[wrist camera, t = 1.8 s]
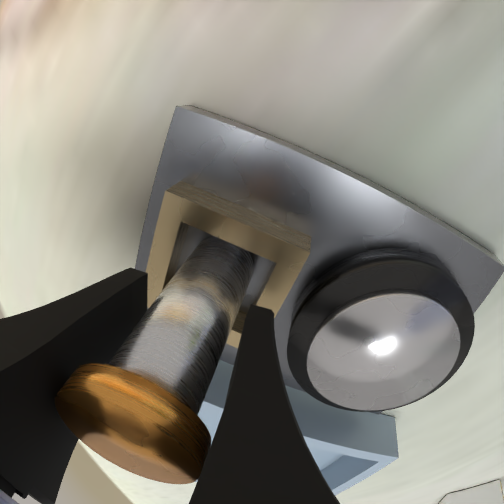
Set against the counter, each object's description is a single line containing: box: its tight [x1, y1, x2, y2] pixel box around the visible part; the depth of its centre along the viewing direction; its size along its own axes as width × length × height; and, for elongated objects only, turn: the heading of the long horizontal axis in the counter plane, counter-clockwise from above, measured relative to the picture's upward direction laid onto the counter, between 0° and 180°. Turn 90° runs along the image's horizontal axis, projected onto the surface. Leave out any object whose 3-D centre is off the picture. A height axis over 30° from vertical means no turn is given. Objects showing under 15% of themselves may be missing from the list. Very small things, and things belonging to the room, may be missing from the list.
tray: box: [195, 360, 399, 495], centre depth 18 cm, size 15×12×3 cm
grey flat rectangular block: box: [135, 105, 504, 415], centre depth 12 cm, size 14×10×3 cm
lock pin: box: [55, 236, 254, 484], centre depth 9 cm, size 3×3×8 cm
